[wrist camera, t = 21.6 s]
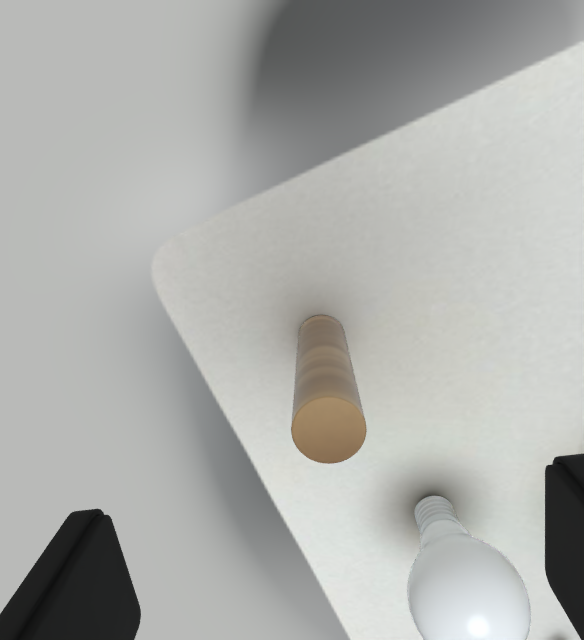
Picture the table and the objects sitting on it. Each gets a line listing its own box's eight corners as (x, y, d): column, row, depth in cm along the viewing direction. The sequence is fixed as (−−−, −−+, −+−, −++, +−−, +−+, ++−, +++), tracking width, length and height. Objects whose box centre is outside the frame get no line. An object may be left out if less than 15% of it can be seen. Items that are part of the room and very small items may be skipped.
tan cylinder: (295, 317, 30) (286, 400, 19) (342, 312, 30) (363, 393, 18) (301, 361, 31) (296, 467, 19) (346, 356, 31) (369, 460, 19)
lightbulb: (383, 541, 35) (415, 698, 24) (389, 465, 33) (427, 599, 22) (471, 544, 34) (542, 705, 24) (482, 468, 33) (565, 605, 22)
